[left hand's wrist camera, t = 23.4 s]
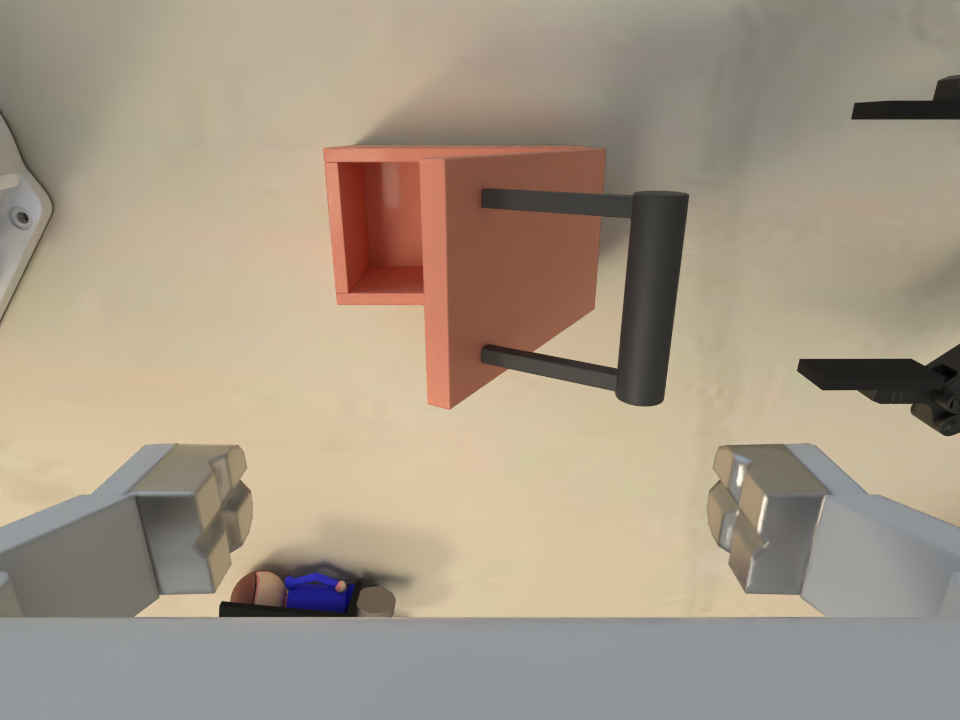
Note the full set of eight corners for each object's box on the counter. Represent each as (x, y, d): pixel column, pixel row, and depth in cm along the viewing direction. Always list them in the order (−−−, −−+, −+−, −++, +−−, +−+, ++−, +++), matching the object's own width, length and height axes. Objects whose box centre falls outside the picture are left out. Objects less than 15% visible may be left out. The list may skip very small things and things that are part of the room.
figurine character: (398, 558, 58) (238, 550, 56) (396, 618, 51) (214, 612, 49) (391, 610, 60) (237, 605, 58) (389, 674, 53) (214, 672, 51)
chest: (362, 274, 47) (336, 305, 38) (353, 145, 43) (322, 147, 35) (566, 274, 47) (585, 305, 38) (573, 145, 43) (595, 148, 35)
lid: (427, 404, 24) (639, 459, 20) (418, 158, 21) (671, 164, 17) (578, 306, 38) (722, 327, 34) (588, 148, 35) (750, 150, 30)
